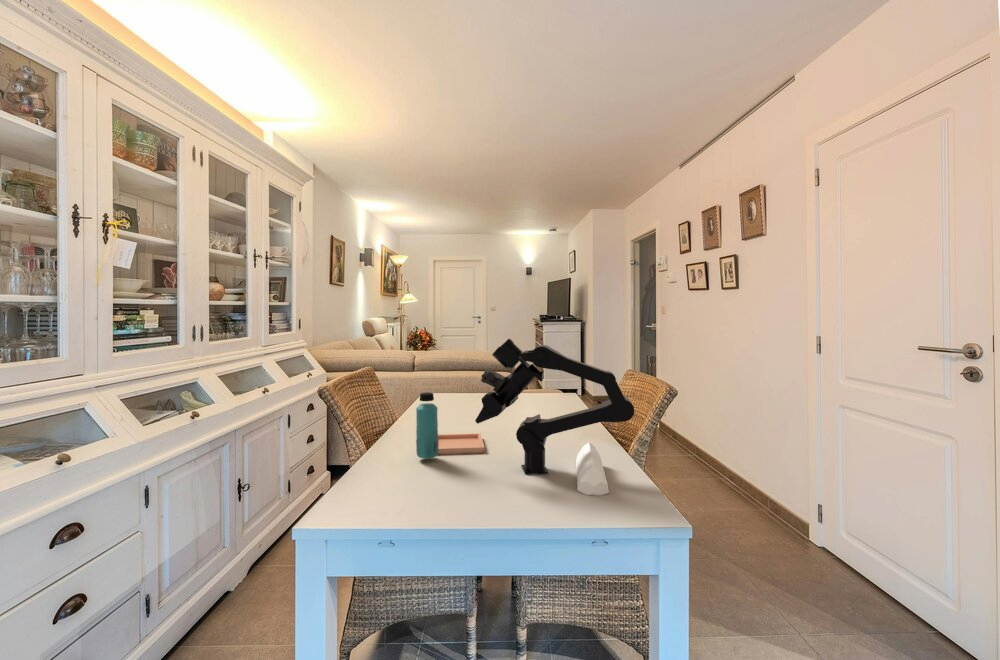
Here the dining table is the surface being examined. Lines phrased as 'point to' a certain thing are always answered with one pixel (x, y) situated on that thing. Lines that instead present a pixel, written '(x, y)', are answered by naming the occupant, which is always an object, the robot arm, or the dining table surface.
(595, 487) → the crystal
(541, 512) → the dining table surface
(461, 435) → the terracotta tray
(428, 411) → the beverage bottle
